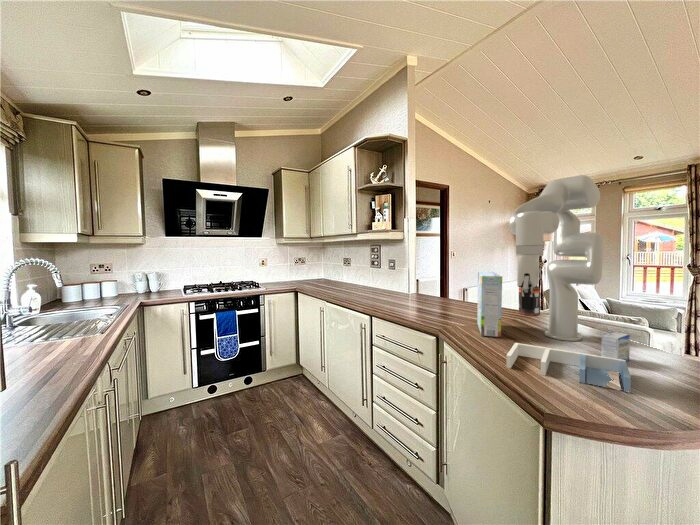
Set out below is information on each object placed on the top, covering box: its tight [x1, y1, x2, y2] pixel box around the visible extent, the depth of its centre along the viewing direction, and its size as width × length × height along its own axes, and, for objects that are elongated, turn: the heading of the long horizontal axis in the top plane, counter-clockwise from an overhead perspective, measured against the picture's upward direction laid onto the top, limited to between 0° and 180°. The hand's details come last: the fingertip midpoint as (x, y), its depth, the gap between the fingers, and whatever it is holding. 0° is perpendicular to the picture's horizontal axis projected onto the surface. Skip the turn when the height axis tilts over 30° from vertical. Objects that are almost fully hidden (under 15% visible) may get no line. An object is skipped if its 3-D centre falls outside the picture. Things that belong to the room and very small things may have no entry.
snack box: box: [476, 271, 503, 338], centre depth 135 cm, size 22×9×26 cm, turn 161°
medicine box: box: [601, 331, 631, 362], centre depth 97 cm, size 8×4×9 cm, turn 117°
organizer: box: [505, 342, 632, 392], centre depth 92 cm, size 15×29×4 cm, turn 52°
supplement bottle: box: [518, 279, 541, 317], centre depth 96 cm, size 6×6×11 cm
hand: (529, 306), depth 96 cm, fingers closed on supplement bottle, 6 cm apart
